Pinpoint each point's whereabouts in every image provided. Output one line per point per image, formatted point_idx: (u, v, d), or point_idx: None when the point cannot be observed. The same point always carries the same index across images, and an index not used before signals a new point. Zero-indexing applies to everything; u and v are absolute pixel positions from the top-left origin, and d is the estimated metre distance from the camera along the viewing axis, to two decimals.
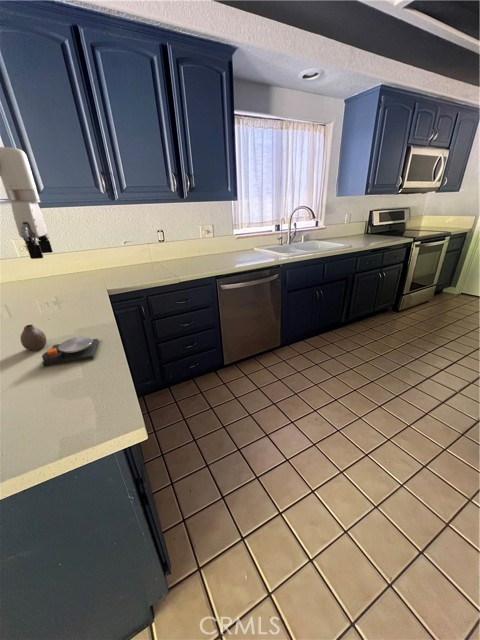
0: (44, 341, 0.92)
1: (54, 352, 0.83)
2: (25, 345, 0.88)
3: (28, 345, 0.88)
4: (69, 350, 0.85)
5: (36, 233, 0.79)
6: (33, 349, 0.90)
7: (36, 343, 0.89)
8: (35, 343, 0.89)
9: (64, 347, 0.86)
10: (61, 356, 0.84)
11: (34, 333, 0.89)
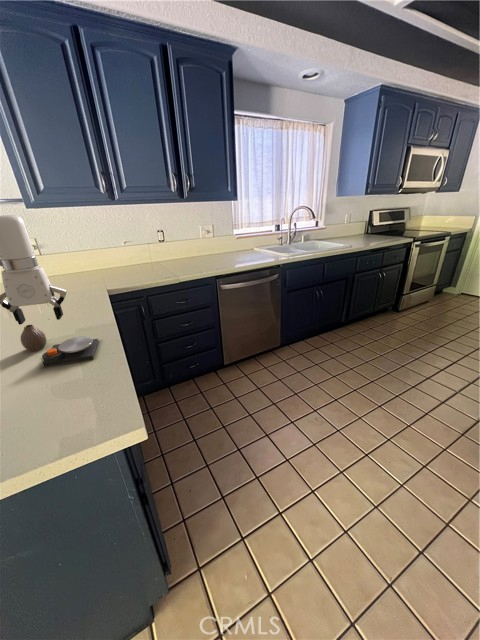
0: (44, 341, 0.92)
1: (54, 352, 0.83)
2: (25, 345, 0.88)
3: (28, 345, 0.88)
4: (69, 350, 0.85)
5: None
6: (33, 349, 0.90)
7: (36, 343, 0.89)
8: (35, 343, 0.89)
9: (64, 347, 0.86)
10: (61, 356, 0.84)
11: (34, 333, 0.89)
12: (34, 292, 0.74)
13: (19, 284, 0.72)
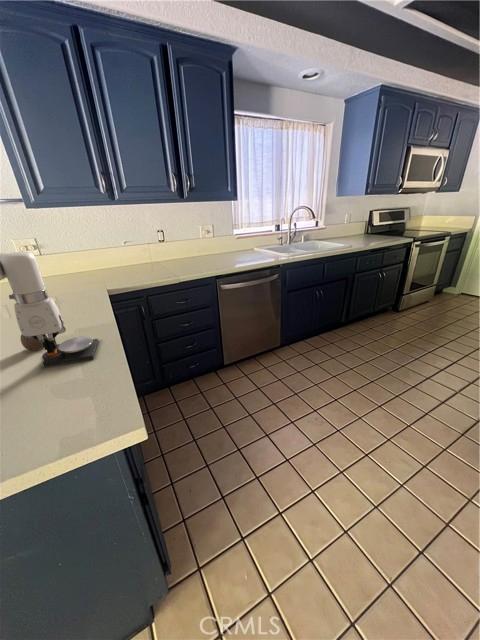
0: None
1: (54, 353, 0.83)
2: (25, 345, 0.88)
3: (28, 345, 0.88)
4: (69, 350, 0.85)
5: None
6: (33, 349, 0.90)
7: (36, 343, 0.89)
8: (35, 343, 0.89)
9: (64, 347, 0.86)
10: (61, 356, 0.84)
11: None
12: (45, 323, 0.77)
13: (31, 316, 0.75)
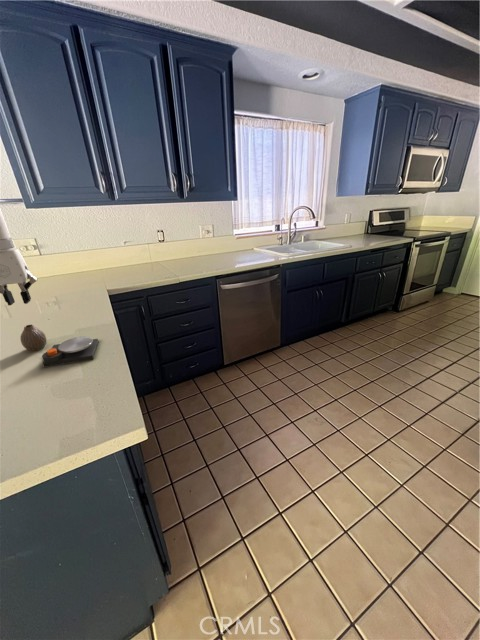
0: (44, 341, 0.92)
1: (54, 352, 0.83)
2: (25, 345, 0.88)
3: (28, 345, 0.88)
4: (69, 350, 0.85)
5: None
6: (33, 349, 0.90)
7: (36, 343, 0.89)
8: (35, 343, 0.89)
9: (64, 347, 0.86)
10: (61, 356, 0.84)
11: (34, 333, 0.89)
12: (10, 272, 0.79)
13: None
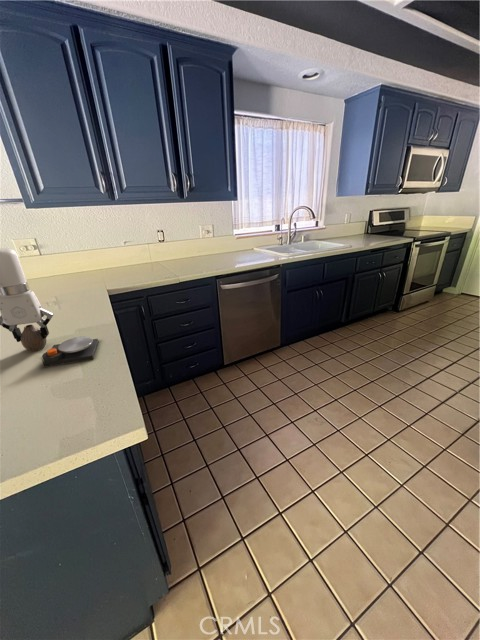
0: (44, 341, 0.92)
1: (54, 352, 0.83)
2: (25, 345, 0.88)
3: (28, 345, 0.88)
4: (69, 350, 0.85)
5: None
6: (33, 349, 0.90)
7: (36, 343, 0.89)
8: (35, 343, 0.89)
9: (64, 347, 0.86)
10: (61, 356, 0.84)
11: (34, 333, 0.89)
12: (26, 313, 0.85)
13: (13, 307, 0.83)
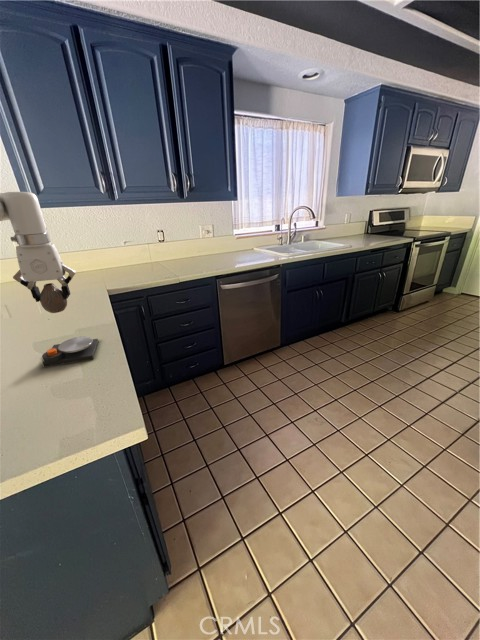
0: (65, 302, 0.83)
1: (54, 352, 0.83)
2: (45, 305, 0.80)
3: (48, 305, 0.80)
4: (69, 350, 0.85)
5: None
6: (53, 310, 0.81)
7: (57, 303, 0.81)
8: (56, 303, 0.81)
9: (64, 347, 0.86)
10: (61, 356, 0.84)
11: (55, 291, 0.80)
12: (47, 268, 0.76)
13: (32, 259, 0.74)
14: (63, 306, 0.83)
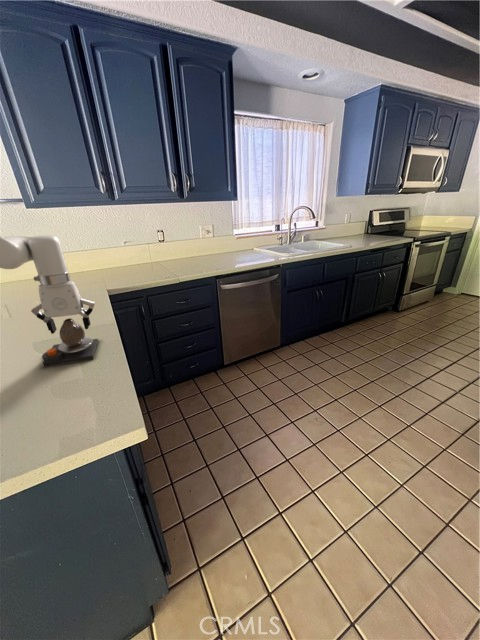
0: (83, 336, 0.88)
1: (54, 352, 0.83)
2: (64, 340, 0.84)
3: (67, 339, 0.84)
4: (69, 350, 0.85)
5: None
6: (72, 344, 0.86)
7: (76, 338, 0.85)
8: (75, 337, 0.85)
9: (64, 347, 0.86)
10: (61, 356, 0.84)
11: (74, 327, 0.85)
12: (67, 304, 0.80)
13: (54, 297, 0.79)
14: (81, 340, 0.87)
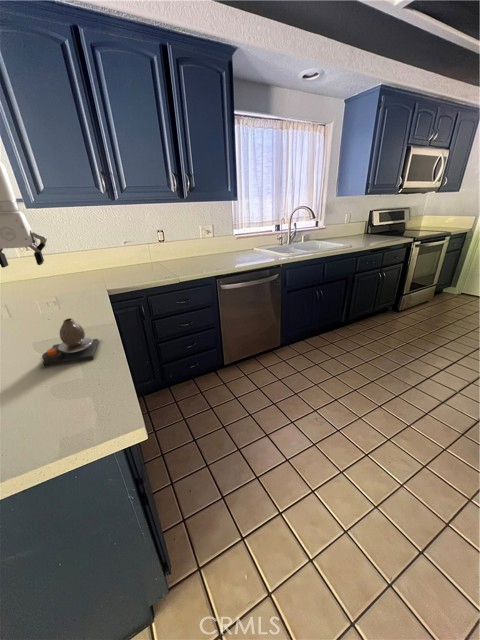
0: (83, 336, 0.88)
1: (54, 352, 0.83)
2: (64, 340, 0.84)
3: (67, 339, 0.84)
4: (69, 350, 0.85)
5: None
6: (72, 344, 0.86)
7: (76, 338, 0.85)
8: (75, 337, 0.85)
9: (64, 347, 0.86)
10: (61, 356, 0.84)
11: (74, 327, 0.85)
12: (15, 235, 0.79)
13: (1, 226, 0.77)
14: (81, 340, 0.87)
